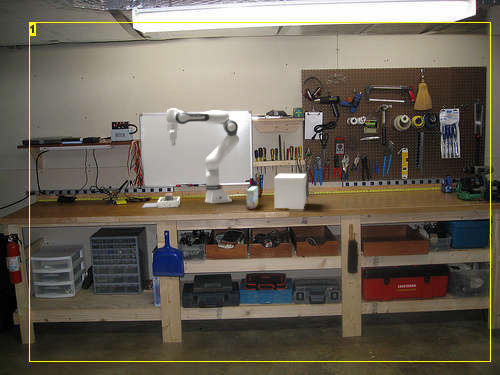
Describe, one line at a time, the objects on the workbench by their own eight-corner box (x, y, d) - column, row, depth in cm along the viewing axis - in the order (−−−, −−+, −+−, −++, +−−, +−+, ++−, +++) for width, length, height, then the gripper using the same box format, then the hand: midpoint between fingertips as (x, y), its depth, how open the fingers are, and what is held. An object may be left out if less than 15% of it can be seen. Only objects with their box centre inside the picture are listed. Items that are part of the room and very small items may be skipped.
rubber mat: (158, 203, 311) (158, 202, 311) (156, 207, 295) (156, 206, 295) (145, 204, 310) (145, 203, 310) (141, 208, 294) (141, 207, 294)
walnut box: (173, 203, 310) (172, 192, 309) (171, 206, 298) (171, 195, 297) (167, 203, 310) (166, 193, 308) (165, 206, 298) (164, 195, 297)
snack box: (253, 210, 278) (253, 190, 276) (246, 209, 280) (245, 190, 277) (258, 204, 299) (258, 185, 297) (251, 204, 300) (251, 185, 298)
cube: (303, 211, 273) (303, 177, 269) (274, 210, 278) (274, 177, 274) (305, 204, 297) (305, 173, 293) (279, 203, 302) (279, 173, 298)
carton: (180, 202, 314) (179, 196, 313) (178, 206, 296) (178, 200, 295) (160, 203, 312) (160, 197, 311) (157, 207, 294) (157, 201, 294)
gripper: (175, 128, 293) (176, 145, 295) (177, 128, 313) (178, 144, 315) (167, 128, 292) (168, 146, 294) (170, 128, 312) (170, 145, 315)
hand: (173, 145), depth 305 cm, fingers open, 8 cm apart
